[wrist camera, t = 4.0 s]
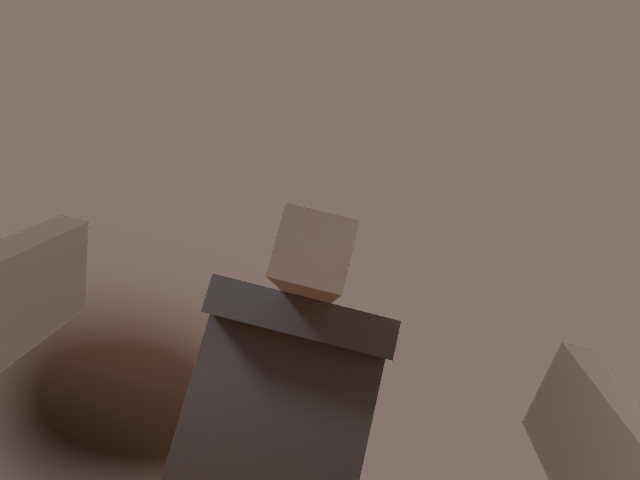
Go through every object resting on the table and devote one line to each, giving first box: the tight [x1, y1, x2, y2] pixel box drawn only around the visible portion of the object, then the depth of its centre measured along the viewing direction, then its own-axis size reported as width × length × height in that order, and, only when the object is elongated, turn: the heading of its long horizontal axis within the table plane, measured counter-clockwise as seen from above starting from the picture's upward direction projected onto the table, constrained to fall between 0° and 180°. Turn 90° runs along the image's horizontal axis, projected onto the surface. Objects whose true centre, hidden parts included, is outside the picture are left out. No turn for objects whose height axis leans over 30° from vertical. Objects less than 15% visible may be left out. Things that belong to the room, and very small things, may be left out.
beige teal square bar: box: [266, 203, 360, 303], centre depth 25 cm, size 21×3×3 cm, turn 2°
